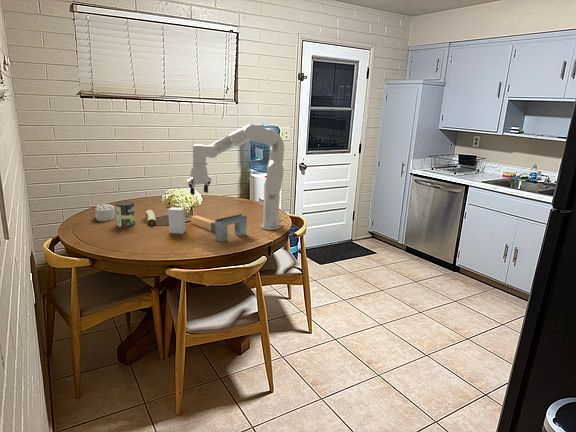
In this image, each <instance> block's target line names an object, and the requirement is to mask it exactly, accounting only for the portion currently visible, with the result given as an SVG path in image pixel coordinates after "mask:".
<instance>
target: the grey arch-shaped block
mask: <svg viewBox="0 0 576 432" xmlns="http://www.w3.org/2000/svg"><path fill="white" fill-rule="evenodd" d="M214 221H215V233H214V237H215V239H214V240H215V241H217V242H219V241H220V242H219V243H223V242H227V241H228V235H229V234H228V233H229V232H228V226H230V225H234V235H236V236H238V235H239V236H238V237H243V236H246V235H247V227H248V226H247V223H248V221H247V214H246V215H243V214H242V213H239V214H235V215H231V216H225V217H221V218H216V219H215V220H214ZM242 235H243V236H242ZM226 240H227V241H226Z"/></svg>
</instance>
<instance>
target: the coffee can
mask: <svg viewBox="0 0 576 432" xmlns="http://www.w3.org/2000/svg"><path fill="white" fill-rule="evenodd" d="M115 214H116V225H117V226H116V227H119V228H128V227H133V226H135V225H136V217H135V216H136V215H135V203H134V201H127V200H125V201H117V202H116V203H115Z"/></svg>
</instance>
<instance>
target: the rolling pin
mask: <svg viewBox="0 0 576 432" xmlns="http://www.w3.org/2000/svg"><path fill="white" fill-rule="evenodd" d="M145 212H146V213H145V214H146V217H147V224H148V226H151V227H152V226H156V225H157V219H156V215H155V211H154V210H153V209H147V210H146V211H145Z"/></svg>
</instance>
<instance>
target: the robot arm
mask: <svg viewBox="0 0 576 432" xmlns="http://www.w3.org/2000/svg"><path fill="white" fill-rule="evenodd" d="M250 141H253V142H256V143H260V144H264V145H266V146H267V145H268V146H269V158H268V162H267V167H266V169H267V171H266V178H265V181H264V184H263V213H262V214H263V216H262V217H263V218H262V223H261V224H260V228H261V229H263V230H268V231H269V230H270V231H272V230H273V231H275V230H280V229H281V224H280V223H283V222H284V219H282V218H281V219H279V214H280V193H281V189H282V184H283V178H284V177H283V176H284V166H283V164H284V163H283V162H284V156H285V155H284V153H285V144H284V143H285V142H284V140H283V138H282V137H281V135H280V134H279V133H278V132H277V131H276V130H273V129H267V128H264V127H262V126H258V125H256V124H254V123H248V124H247V125H245V126H243V127H241V128H239V129H236V130H235V131H233V132H231V133H229V134H227V135H226V136H224V137H223V138H221V139H219V140H217V141H215V142H213V143H211V144H209V145H205V144H202V143H195V144H193V145H192V167H191V168H190V169H191V170H190V176H189V177H190V178H189V179H187V180H186V183H187V186H188V187H189V189H190V190H189V192H190V195H193V196H194V195H196V194H195V192H196V191H195V186H197V185H203V192H204V193H206V194H208V193H209V187H210V184H211V181H212V178H211V177H209V175H208V169H207V165H208V163H207V158H209V159H210V158H211V159H214V158H216V157H218V155H221V154H222V153H224V152H226V151H228V150H231V149H235V148H238V147H240V146H243V144H246V143H248V142H250Z"/></svg>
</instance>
